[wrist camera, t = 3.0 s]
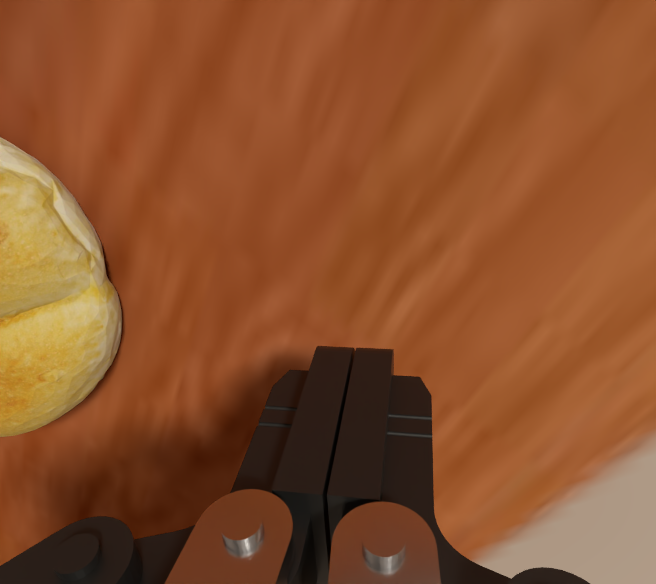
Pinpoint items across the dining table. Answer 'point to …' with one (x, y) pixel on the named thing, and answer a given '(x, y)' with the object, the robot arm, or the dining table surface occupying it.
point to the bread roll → (49, 298)
